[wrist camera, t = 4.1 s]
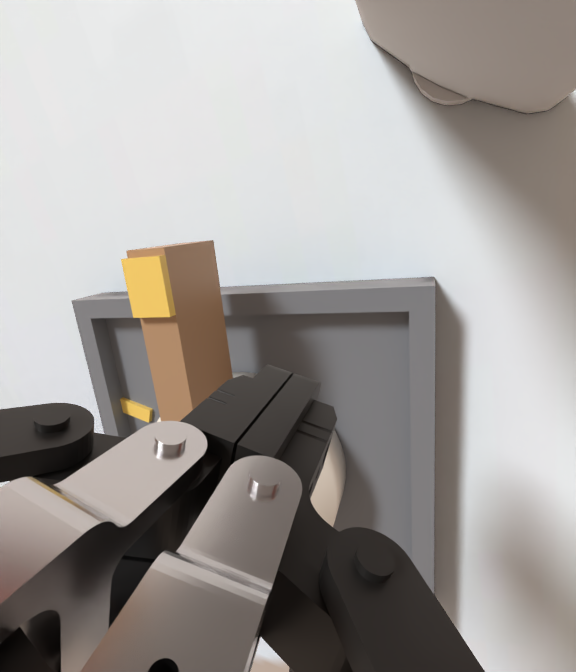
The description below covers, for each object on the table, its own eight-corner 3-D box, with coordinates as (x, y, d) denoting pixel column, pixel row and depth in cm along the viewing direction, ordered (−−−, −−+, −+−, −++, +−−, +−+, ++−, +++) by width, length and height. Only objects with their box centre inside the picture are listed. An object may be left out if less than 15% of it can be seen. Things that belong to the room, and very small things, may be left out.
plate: (432, 601, 27) (433, 640, 24) (159, 546, 34) (139, 572, 32) (434, 276, 21) (435, 285, 18) (102, 292, 28) (71, 300, 26)
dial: (351, 548, 26) (325, 668, 19) (189, 520, 29) (121, 612, 23) (330, 228, 20) (283, 236, 13) (136, 246, 24) (25, 260, 17)
